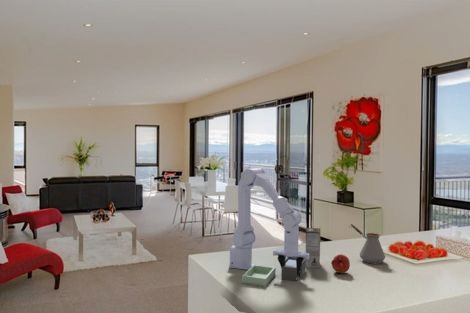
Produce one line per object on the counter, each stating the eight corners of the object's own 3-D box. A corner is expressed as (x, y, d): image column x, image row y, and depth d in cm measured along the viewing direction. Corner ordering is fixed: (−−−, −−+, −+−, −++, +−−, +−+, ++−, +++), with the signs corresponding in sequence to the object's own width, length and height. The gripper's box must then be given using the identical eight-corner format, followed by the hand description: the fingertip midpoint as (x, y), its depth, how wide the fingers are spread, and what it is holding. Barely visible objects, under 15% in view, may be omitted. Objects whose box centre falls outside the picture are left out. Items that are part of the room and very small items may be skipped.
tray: (241, 283, 160) (241, 275, 160) (253, 271, 175) (253, 264, 175) (265, 286, 157) (265, 278, 157) (275, 274, 172) (275, 267, 171)
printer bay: (282, 273, 173) (283, 259, 172) (287, 268, 180) (287, 254, 180) (302, 276, 170) (302, 261, 170) (305, 270, 178) (305, 256, 177)
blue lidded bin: (281, 279, 166) (281, 265, 166) (287, 271, 176) (287, 258, 176) (296, 281, 164) (296, 267, 164) (301, 273, 174) (301, 259, 174)
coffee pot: (390, 263, 191) (391, 231, 190) (371, 266, 186) (372, 233, 185) (358, 252, 210) (359, 223, 210) (340, 254, 205) (341, 224, 205)
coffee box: (305, 261, 192) (306, 227, 191) (319, 262, 190) (320, 228, 190) (304, 267, 183) (305, 231, 182) (319, 268, 181) (320, 232, 181)
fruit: (327, 272, 175) (327, 254, 175) (336, 268, 181) (337, 250, 181) (344, 277, 170) (344, 258, 170) (353, 272, 176) (353, 254, 176)
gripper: (271, 241, 166) (270, 275, 166) (307, 245, 161) (306, 279, 161) (275, 238, 172) (274, 270, 173) (310, 241, 168) (309, 274, 168)
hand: (290, 274), depth 168 cm, fingers closed on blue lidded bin, 5 cm apart
